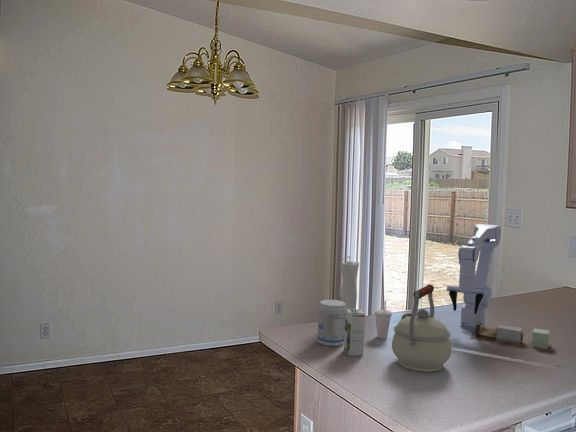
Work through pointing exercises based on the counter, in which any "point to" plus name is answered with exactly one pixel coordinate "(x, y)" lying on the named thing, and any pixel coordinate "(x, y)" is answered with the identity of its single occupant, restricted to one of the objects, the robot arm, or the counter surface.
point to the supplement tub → (331, 322)
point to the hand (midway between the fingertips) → (465, 311)
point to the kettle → (422, 338)
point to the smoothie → (382, 322)
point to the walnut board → (523, 344)
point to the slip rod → (489, 331)
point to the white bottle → (349, 283)
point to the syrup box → (354, 332)
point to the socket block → (540, 338)
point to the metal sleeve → (509, 334)
